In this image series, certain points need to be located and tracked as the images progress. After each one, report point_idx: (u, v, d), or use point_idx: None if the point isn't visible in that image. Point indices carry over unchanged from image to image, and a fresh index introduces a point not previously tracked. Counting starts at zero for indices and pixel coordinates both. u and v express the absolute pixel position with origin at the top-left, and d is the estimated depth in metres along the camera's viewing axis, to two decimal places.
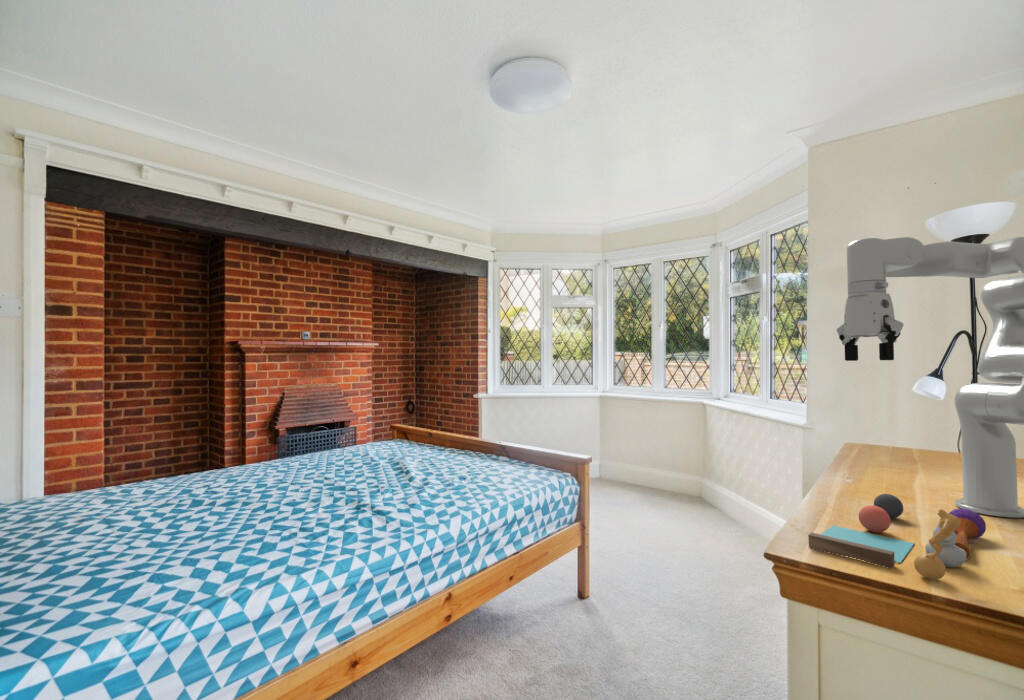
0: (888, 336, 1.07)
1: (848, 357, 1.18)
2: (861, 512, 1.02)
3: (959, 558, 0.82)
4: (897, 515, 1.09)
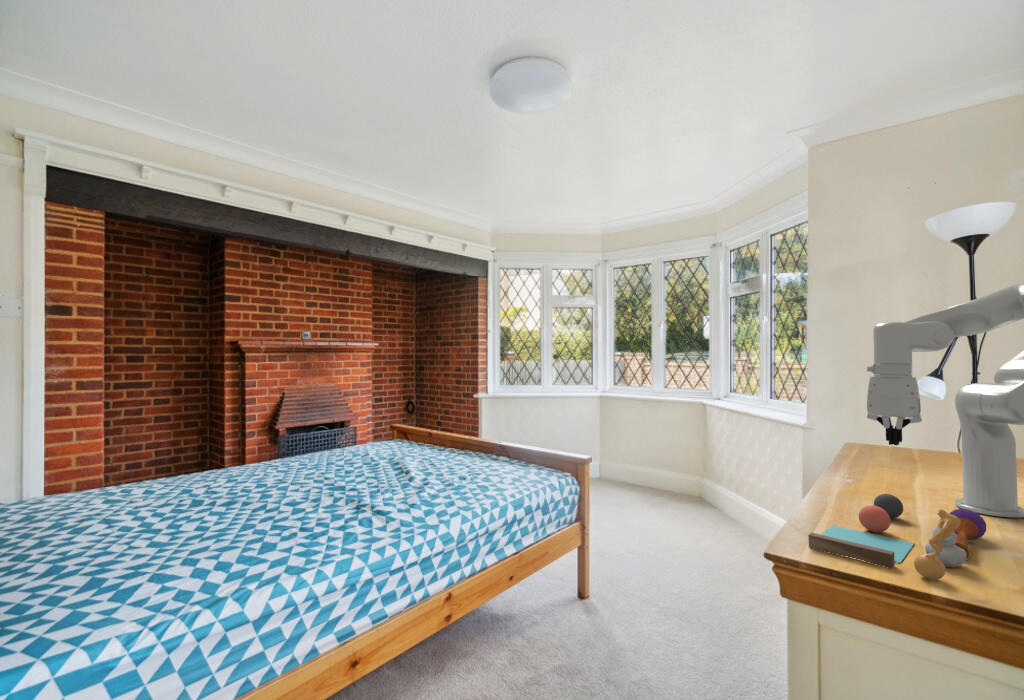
0: None
1: None
2: (861, 512, 1.02)
3: (959, 558, 0.82)
4: (897, 515, 1.09)
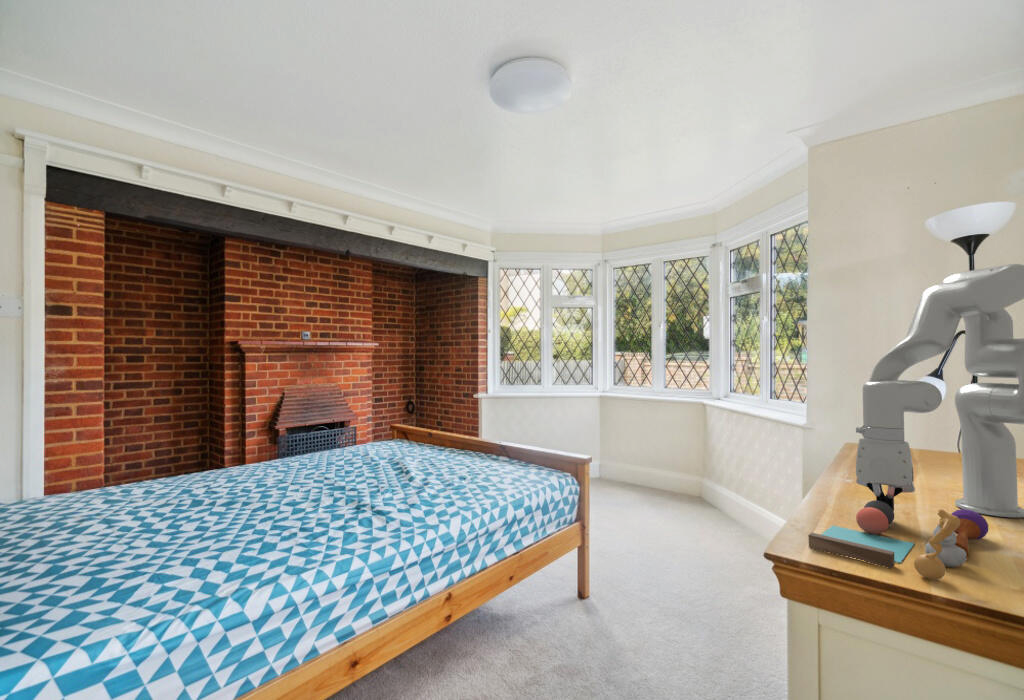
0: None
1: None
2: (858, 520, 1.00)
3: (959, 558, 0.82)
4: None
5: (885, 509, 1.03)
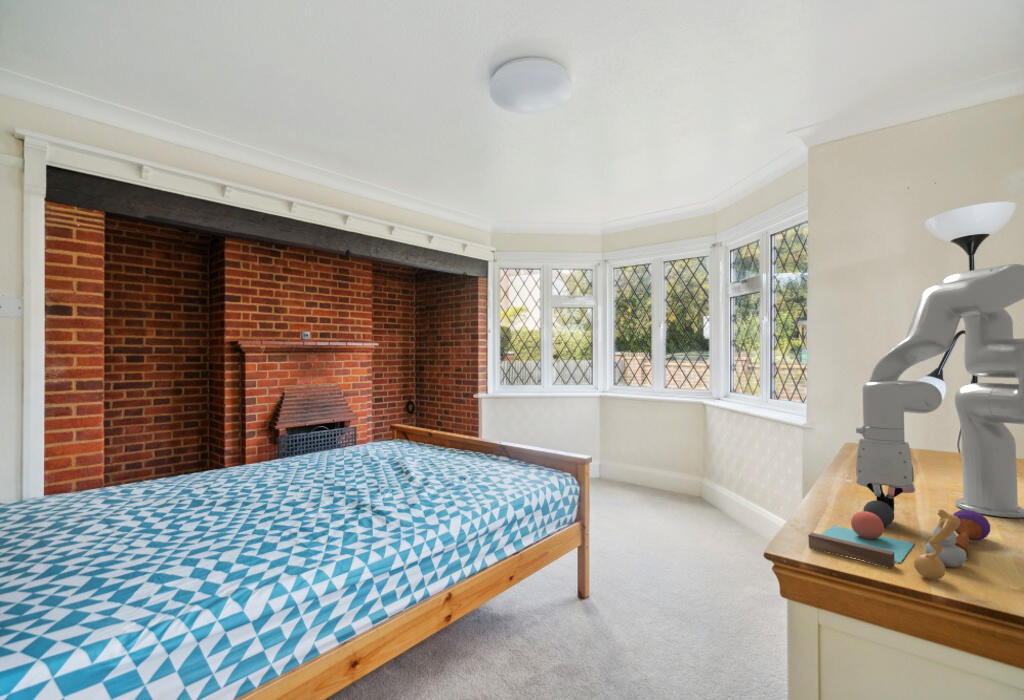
0: None
1: None
2: None
3: (959, 558, 0.82)
4: None
5: (885, 509, 1.03)
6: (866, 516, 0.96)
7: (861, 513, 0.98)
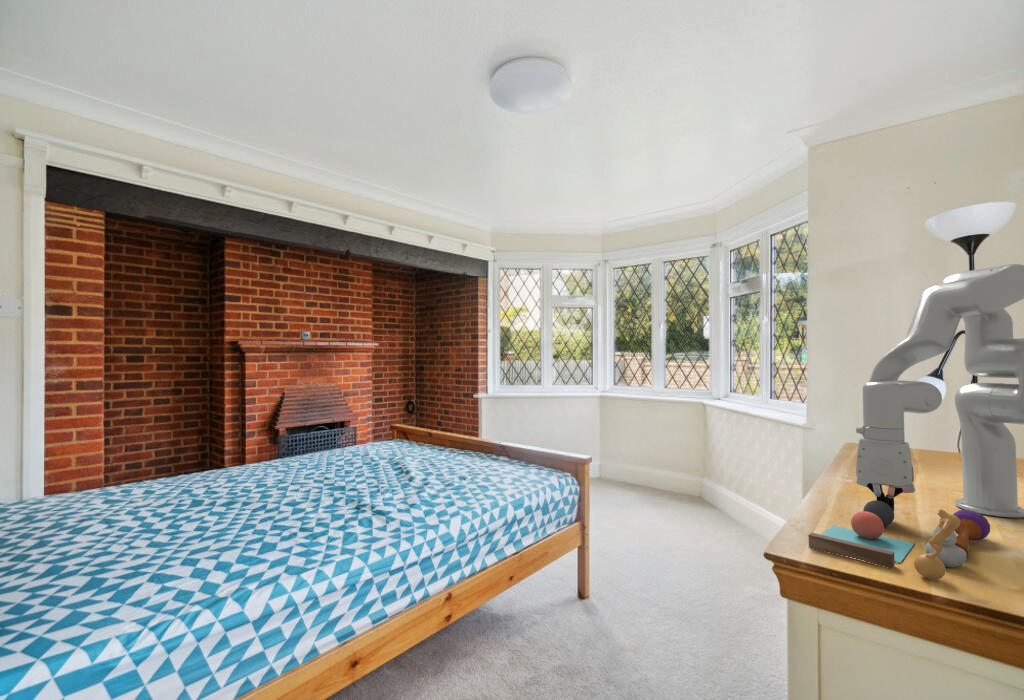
0: None
1: None
2: None
3: (959, 558, 0.82)
4: None
5: (885, 509, 1.03)
6: (866, 516, 0.96)
7: (861, 513, 0.98)
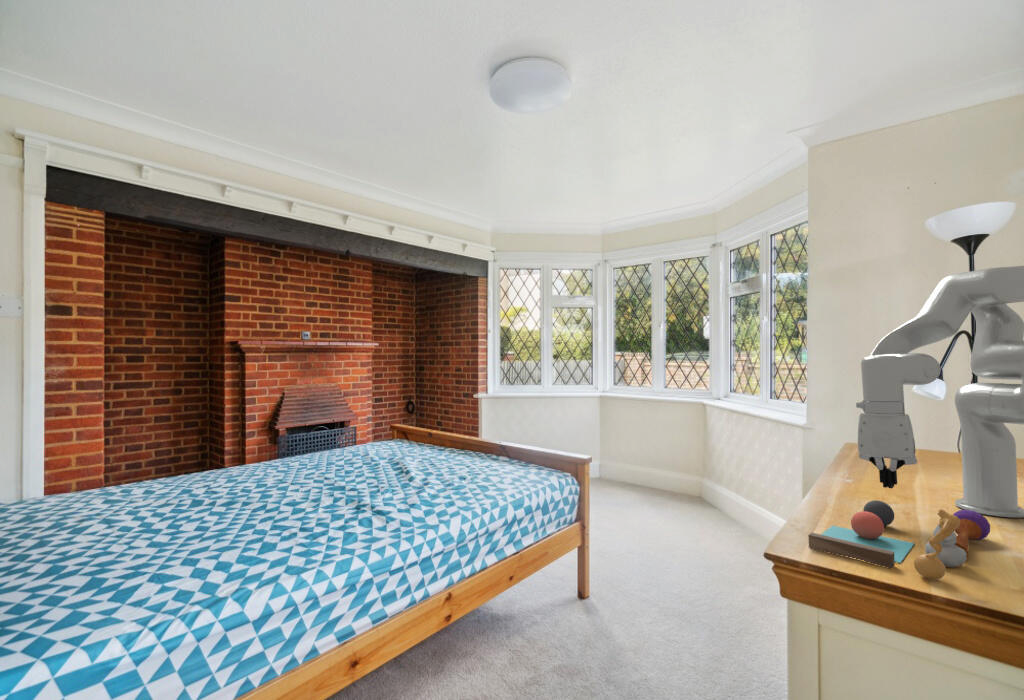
0: None
1: None
2: None
3: (959, 558, 0.82)
4: None
5: (885, 509, 1.03)
6: (866, 516, 0.96)
7: (861, 513, 0.98)
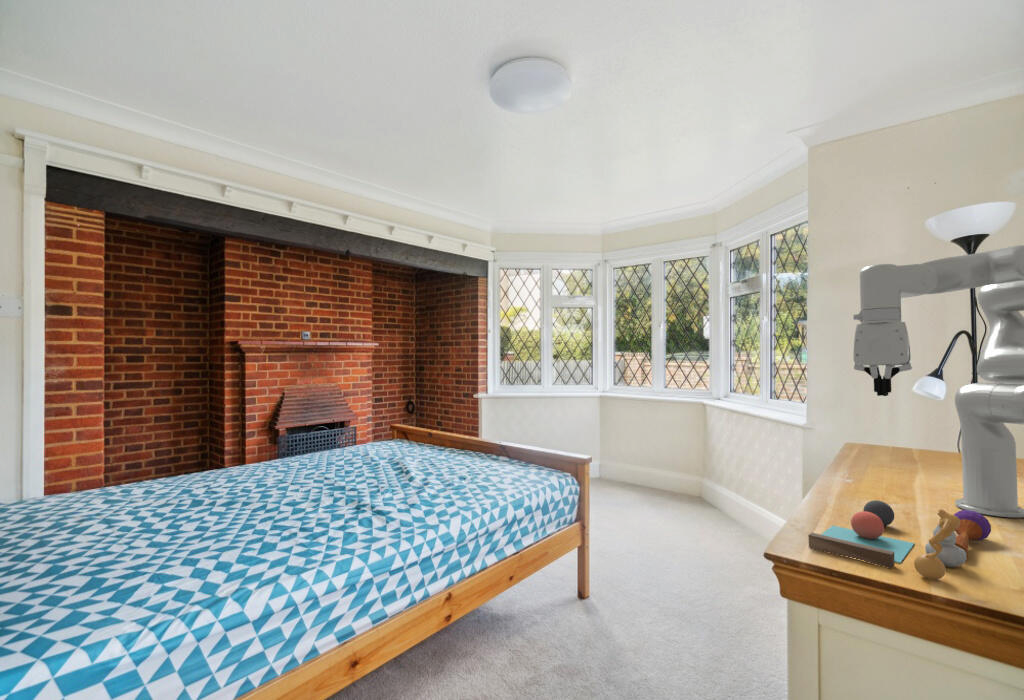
0: None
1: None
2: None
3: (959, 558, 0.82)
4: None
5: (885, 509, 1.03)
6: (866, 516, 0.96)
7: (861, 513, 0.98)
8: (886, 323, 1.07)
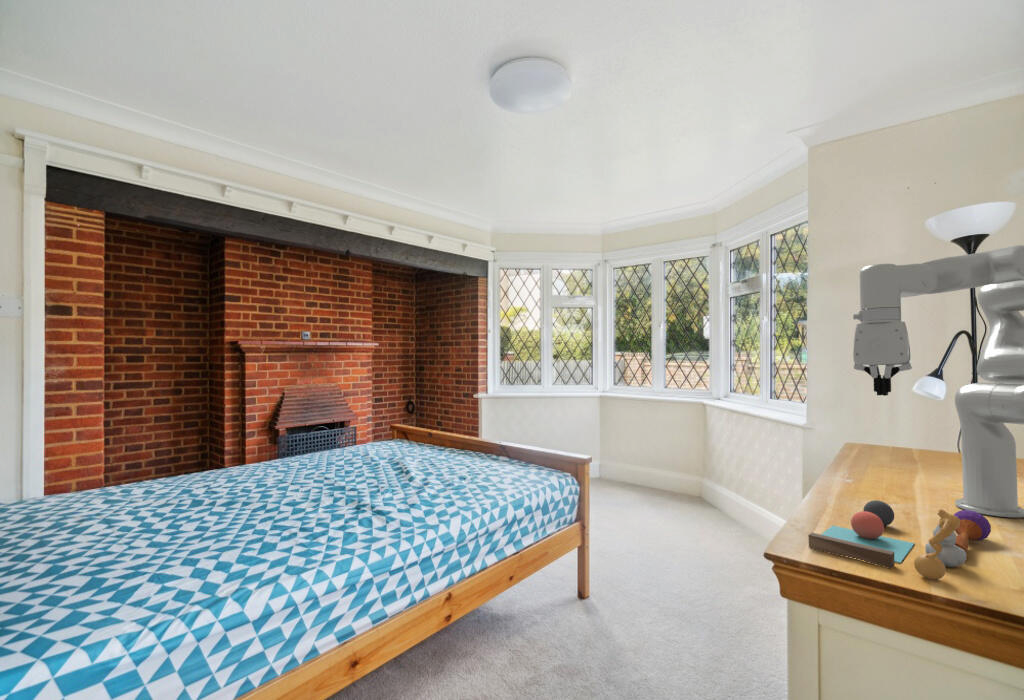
0: None
1: None
2: None
3: (959, 558, 0.82)
4: None
5: (885, 509, 1.03)
6: (866, 516, 0.96)
7: (861, 513, 0.98)
8: (886, 323, 1.07)
